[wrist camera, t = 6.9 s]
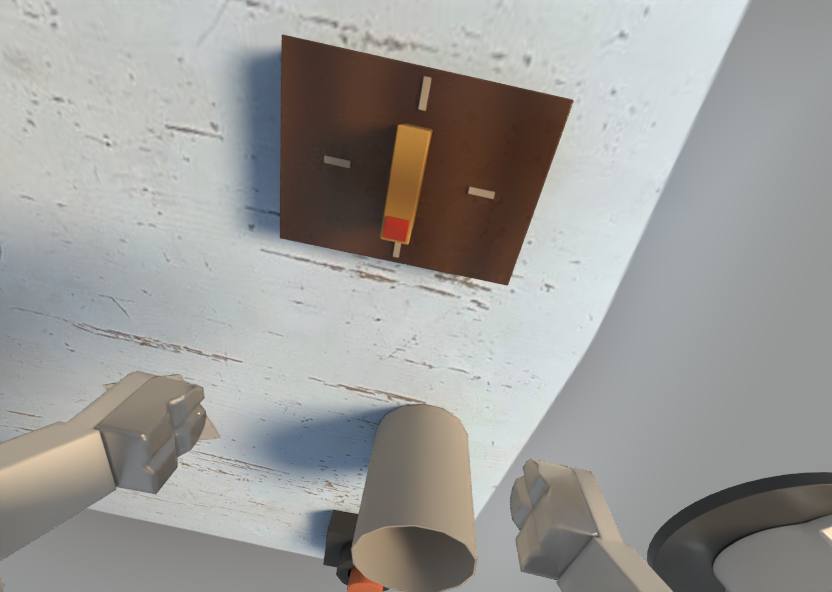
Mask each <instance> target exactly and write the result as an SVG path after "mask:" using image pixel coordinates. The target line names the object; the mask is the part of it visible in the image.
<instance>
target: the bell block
mask: <svg viewBox="0 0 832 592" xmlns="http://www.w3.org/2000/svg"><path fill="white" fill-rule="evenodd" d="M357 520H358V515H357V514H352V513H347V512H341V511H336V510H333V514H332V518H331V521H330V525H329V528H328V533H327V541H326V548H325V556H324V563H323V564H324V565H327V566H333V567H337V572H336V575H337V576H338V577H339V579H340V580H341V581H342V583H344V584H346V585H348V583H349V578H350V573H351V569H352V568H353V567H354V566H355V565H354V564H353V559H352V551H351V548H352V543H353V538H354V534H355V529H356V524H357ZM388 589H389V588H386V587H384V586H383V591H386V590H388Z"/></svg>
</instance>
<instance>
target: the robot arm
mask: <svg viewBox="0 0 832 592" xmlns="http://www.w3.org/2000/svg"><path fill="white" fill-rule="evenodd" d="M204 398H205V397H204V390H203V387H201V386H198V385H194V384H190V383H186V382H182V381H178V380H174V379H170V378H166V377H162V376H157V375H153V374H149V373H144V372H140V371H136V372H133V373H130V374H128V375H127V376H125V377H124V378H123V379H121V380H120V381H119V382H118V383H116V384H115V385H114V386H113V387H111V388H110V389H109V390H107V391H106V392H105V393H104V394H102V395H101V396H100V397H99V398H97V399H96V400H95V401H94V402H92V403H91V404H90V405H88V406H87V407H86V408H85V409H83V410H82V411H81V412H80V413H78V414H77V415H76V416H74V417H73V418H72V419H71V420H69V421H68V422H67V423H65V422H56V423H54V424H51V425H48V426H45V427H43V428H40V429H37V430H34V431H32V432H29V433H26V434H24V435H21V436H18V437H15V438H13V439H10V440H7V441H4V442H2V443H0V561H1V560H3V559H5V558H6V557H8V556H10V555H11V554H13V553H15V552H16V551H18V550H19V549H21V548H22V547H24V546H26V545H27V544H29V543H31V542H32V541H34V540H36V539H37V538H39V537H40V536H42V535H44V534H45V533H47V532H49V531H50V530H52V529H53V528H55V527H57V526H58V525H60V524H61V523H63V522H65V521H66V520H68V519H70V518H71V517H73V516H74V515H76V514H78V513H79V512H81V511H82V510H84V509H86V508H87V507H89V506H91V505H92V504H94V503H95V502H97V501H99V500H100V499H102V498H103V497H105V496H107V495H108V494H110V493H112V492H113V491H115V490H116V487H119V488H125V489H130V490H136V491H141V492H147V493H152V494H157V493H158V491H159V490H160V489H161V487H162V486H163V485H164V484H165V482H166V481H167V480H168V479H169V477H170V476H171V475H172V473H173V472H174V471H175V470H176V468H177V467H178V457H179V456H181V455H182V454H184V453H186V452H188V451H190V450H191V449H192V448H193V446H194V445H195V444H196V442H197V441H198V440H199V438H200V436H201V433H202V431H203V429H204V427H205V422H206V411H205V409H204V408H203V407H202V406H201V405H200V402H201V401H202V400H203V399H204ZM523 471H524V476H522V477H520V478H518V479H516V481H515V483H514V485H513V487H512V492H511V497H510V509H511V516H512V520H513V522H514V523H515V524H516V526H517V527H518V528H519V530H520V532H519V533H518V535H517V537H516V546H517V552H518V558H519V564H520V569H521V572H526V573H530V574H534V575H538V576H542V577H546V578H550V579H554V580H558V581H557V584H558V586H559V587H560V589H561V591H562V592H673V591H672V590H671V589H670V588H669V587H668V586H667V584H666V583H665V582H664V581H663V580H662V579H661V578H660V577H659V576H658V575H657V574H656V573H655V571H654V570H653V569H652V568H651V567H650V566H649V565H648V564H647V563H646V562H645V561H644V559H643V558H642V557H641V556H640V555H639V554H638V553H637V552H636V551H635V550H634V549H633V547H631V545H629V544H625V543H623V541H622V538H621V536H620V534H619V531H618V529H617V527H616V525H615V522H614V520H613V517H612V515H611V513H610V510H609V508H608V506H607V503H606V501H605V499H604V496H603V494H602V491H601V489H600V487H599V485H598V482H597V480H596V478H595V476H594V475H593V474H592V472H590V471H586V470H581V469H577V468H572V467H568V466H564V465H559V464H554V463H550V462H545V461H540V460H535V459H529V460H528V461H526V463H525V465H524V466H523ZM713 573H714V575H715V577H716V578H717V579H718V580H719V582H720V583H721V584H722V585H723V586H724V587H725V592H832V514H831V515H827V516H824V517H820V518H817V519H814V520H812V521H809V522H805V523H801V524H795V525H788V526H781V527H776V528H772V529H767V530H764V531H760V532H757V533H754V534H752V535H749V536H747V537H744V538H742V539H740V540H738V541H736V542H734V543H733V544H731V545H730V546H728V547H727V548H726V549H724V550H723V551H722V552H721V553H720V554H719V555H718V556H717V558H716V559H715V561H714V564H713ZM4 586H5V584H4V582H3V581H2V579H1V578H0V592H4Z"/></svg>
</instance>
